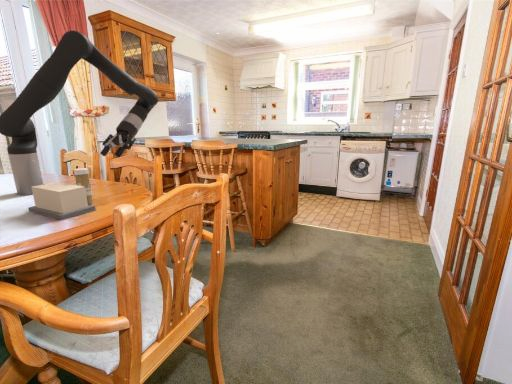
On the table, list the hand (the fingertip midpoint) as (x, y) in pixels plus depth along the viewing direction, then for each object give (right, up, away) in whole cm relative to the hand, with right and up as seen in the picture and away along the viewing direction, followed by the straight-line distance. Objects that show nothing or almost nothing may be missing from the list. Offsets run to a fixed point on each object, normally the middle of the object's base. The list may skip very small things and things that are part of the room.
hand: (109, 155), depth 105 cm
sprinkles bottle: (-5, -19, -6) cm, 21 cm away
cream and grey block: (-8, -21, -15) cm, 27 cm away
